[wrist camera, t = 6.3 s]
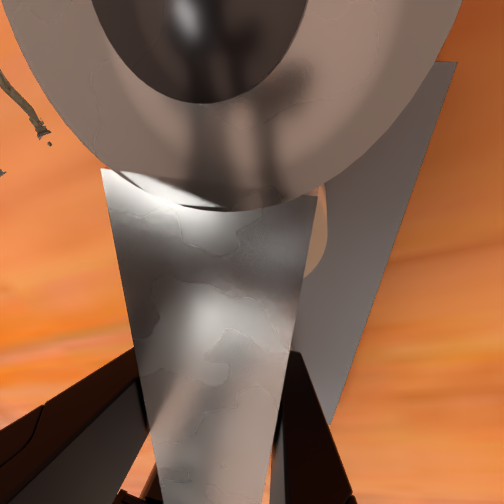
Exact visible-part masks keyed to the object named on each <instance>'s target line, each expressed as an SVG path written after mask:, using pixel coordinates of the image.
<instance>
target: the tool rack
mask: <svg viewBox="0 0 504 504" xmlns="http://www.w3.org/2000/svg"><path fill="white" fill-rule="evenodd" d="M456 65H457V62H442V61H435V62H434V64H433V66H432V67H431V69H430V71H429V72H428V74H427V75H426V77H425V78H424V80H423V82H422V83H421V85H420V86H419V88H418V90H417V91H416V93H415V94H414V96H413V98H412V99H411V101H410V102H409V103H408V104H407V106H406V107H405V108H404V109H403V111H402V112H401V113H400V115H399V116H398V117H397V118H396V120H395V121H394V122H393V123H392V125H391V126H390V127H389V129H388V130H387V131H386V132H385V133H384V134H383V135H382V136H381V137H380V138H379V139H378V140H377V141H376V142H375V143H374V144H373V145H372V146H371V147H370V148H369V149H368V150H367V151H366V152H365V153H364V154H363V155H362V156H361V157H359V158H358V159H357V160H356V161H355V162H353V163H352V164H351V165H350V166H348V167H347V168H346V169H345V170H343V171H342V172H341V173H340V174H338V175H337V176H335V177H333V178H332V179H330V180H329V181H327V182H325V183H324V184H322V185H321V186H319V191H318V201H317V206H316V211H315V217H314V222H313V228H312V233H311V238H310V244H309V249H308V254H307V260H306V265H305V271H304V276H303V281H302V287H301V292H300V298H299V303H298V308H297V314H296V319H295V324H294V330H293V335H292V341H291V346H290V350H293V351H298V352H300V353H301V354H302V356H303V359H304V362H305V364H306V367H307V370H308V373H309V375H310V378H311V381H312V383H313V386H314V389H315V391H316V394H317V397H318V399H319V402H320V405H321V407H322V410H323V413H324V416H325V418H326V421H327V424H329V425H330V424H331V422H332V419H333V416H334V413H335V410H336V407H337V405H338V402H339V399H340V396H341V393H342V390H343V387H344V385H345V382H346V379H347V376H348V373H349V370H350V367H351V365H352V362H353V359H354V356H355V353H356V350H357V347H358V345H359V342H360V339H361V336H362V333H363V330H364V328H365V325H366V322H367V319H368V316H369V313H370V310H371V308H372V305H373V302H374V299H375V296H376V293H377V290H378V288H379V285H380V282H381V279H382V276H383V273H384V271H385V268H386V265H387V262H388V259H389V256H390V253H391V251H392V248H393V245H394V242H395V239H396V236H397V233H398V231H399V228H400V225H401V222H402V219H403V216H404V214H405V211H406V208H407V205H408V202H409V199H410V196H411V194H412V191H413V188H414V185H415V182H416V179H417V176H418V174H419V171H420V168H421V165H422V162H423V159H424V157H425V154H426V151H427V148H428V145H429V142H430V139H431V137H432V134H433V131H434V128H435V125H436V122H437V119H438V117H439V114H440V111H441V108H442V105H443V102H444V100H445V97H446V94H447V91H448V88H449V85H450V82H451V80H452V77H453V74H454V71H455V68H456Z"/></svg>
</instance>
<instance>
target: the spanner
mask: <svg viewBox="0 0 504 504" xmlns="http://www.w3.org/2000/svg"><path fill="white" fill-rule="evenodd" d="M1 1H2V4H3V7H4V10H5V13H6V15H7V18H8V20H9V23H10V25H11V28H12V30H13V32H14V35H15V37H16V40H17V42H18V45H19V47H20V49H21V51H22V53H23V55H24V57H25V59H26V61H27V63H28V65H29V67H30V69H31V71H32V73H33V75H34V76H35V78H36V80H37V81H38V83H39V85H40V86H41V88H42V90H43V91H44V93H45V95H46V96H47V98H48V100H49V101H50V103H51V104H52V105H53V107H54V108H55V110H56V111H57V112H58V114H59V115H60V117H61V118H62V119H63V121H64V122H65V123H66V125H67V126H68V127H69V128H70V129H71V130H72V132H73V133H74V134H75V135H76V136H77V137H78V139H79V140H80V141H81V142H82V143H83V144H84V145H85V146H86V147H87V148H88V149H89V150H90V151H91V152H92V153H93V154H94V155H95V156H96V157H97V158H98V159H99V160H100V161H101V162H103V163H104V164H105V165H106V166H108V167H104V168H100V169H101V174H102V179H103V185H104V190H105V195H106V201H107V206H108V211H109V217H110V222H111V227H112V232H113V238H114V243H115V248H116V254H117V259H118V264H119V270H120V275H121V280H122V285H123V291H124V296H125V301H126V307H127V312H128V317H129V323H130V328H131V333H132V338H133V344H134V349H135V354H136V360H137V365H138V370H139V375H140V381H141V386H142V391H143V397H144V402H145V407H146V413H147V418H148V423H149V428H150V434H151V439H152V444H153V450H154V455H155V460H156V466H157V471H158V476H159V481H160V487H161V492H162V497H163V503H164V504H261V502H262V497H263V491H264V486H265V480H266V475H267V470H268V464H269V459H270V453H271V448H272V443H273V437H274V432H275V427H276V421H277V416H278V410H279V405H280V400H281V394H282V389H283V384H284V378H285V373H286V367H287V362H288V357H289V351H290V346H291V341H292V335H293V330H294V324H295V319H296V314H297V308H298V303H299V298H300V292H301V287H302V281H303V276H304V271H305V265H306V260H307V254H308V249H309V244H310V238H311V233H312V228H313V222H314V217H315V211H316V206H317V201H318V191H319V186H321V185H322V184H324V183H325V182H327V181H329V180H330V179H332V178H333V177H335V176H337V175H338V174H340V173H341V172H342V171H343V170H345V169H346V168H347V167H348V166H350V165H351V164H352V163H353V162H355V161H356V160H357V159H358V158H359V157H361V156H362V155H363V154H364V153H365V152H366V151H367V150H368V149H369V148H370V147H371V146H372V145H373V144H374V143H375V142H376V141H377V140H378V139H379V138H380V137H381V136H382V135H383V134H384V133H385V132H386V131H387V130H388V129H389V127H390V126H391V125H392V123H393V122H394V121H395V120H396V118H397V117H398V116H399V115H400V113H401V112H402V111H403V109H404V108H405V107H406V106H407V104H408V103H409V102H410V101H411V99H412V98H413V96H414V94H415V93H416V91H417V90H418V88H419V86H420V85H421V83H422V82H423V80H424V78H425V77H426V75H427V74H428V72H429V71H430V69H431V67H432V66H433V64H434V62H435V60H436V58H437V56H438V54H439V52H440V50H441V48H442V46H443V44H444V42H445V40H446V38H447V36H448V34H449V32H450V30H451V28H452V26H453V24H454V22H455V19H456V16H457V14H458V11H459V9H460V6H461V3H462V1H463V0H1Z"/></svg>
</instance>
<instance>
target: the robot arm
mask: <svg viewBox="0 0 504 504" xmlns="http://www.w3.org/2000/svg"><path fill="white" fill-rule="evenodd" d="M149 432H150V428H149V423H148V418H147V413H146V407H145V402H144V397H143V391H142V386H141V381H140V375H139V370H138V365H137V360H136V354H135V349H134V347H133V348H131V349H130V350H128V351H127V352H125V353H123V354H122V355H120V356H119V357H117V358H115V359H114V360H112V361H111V362H109V363H107V364H106V365H104V366H103V367H101V368H100V369H98V370H96V371H95V372H93V373H92V374H90V375H88V376H87V377H85V378H84V379H82V380H80V381H79V382H77V383H76V384H74V385H72V386H71V387H69V388H68V389H66V390H65V391H63V392H61V393H60V394H58V395H57V396H55V397H53V398H52V399H50V400H49V401H47V402H46V403H45V405H40V406H39V407H37V408H36V409H34V410H32V411H31V412H29V413H28V414H26V415H25V416H23V417H21V418H20V419H18V420H16V421H15V422H13V423H11V424H10V425H8V426H6V427H5V428H3V429H1V430H0V504H164V503H163V497H162V492H161V487H160V481H159V476H158V471H157V466H156V462H155V465H154V467H153V469H152V471H151V473H150V475H149V477H148V480H147V482H146V484H145V486H144V488H143V490H142V492H141V495H140V497H139V498H137V497H135V496H133V495H130V494H128V493H127V491H125V490H123V489H121V490H120V492H119V493H118V491H119V489H120V487H121V485H122V483H123V481H124V479H125V478H126V476H127V474H128V472H129V470H130V468H131V466H132V464H133V462H134V460H135V459H136V457H137V455H138V453H139V451H140V449H141V447H142V445H143V443H144V441H145V439H146V438H147V436H148V434H149ZM117 493H118V495H117ZM352 493H353V491H352V488H351V485H350V483H349V480H348V477H347V475H346V472H345V469H344V467H343V464H342V461H341V459H340V456H339V453H338V450H337V448H336V445H335V442H334V440H333V437H332V434H331V432H330V429H329V426H328V424H327V421H326V418H325V416H324V413H323V410H322V407H321V405H320V402H319V399H318V397H317V394H316V391H315V389H314V386H313V383H312V381H311V378H310V375H309V373H308V370H307V367H306V364H305V362H304V359H303V356H302V354H301V353H300V352H298V351H293V350H290V351H289V357H288V362H287V367H286V373H285V378H284V384H283V389H282V394H281V400H280V405H279V410H278V416H277V421H276V427H275V432H274V437H273V443H272V460H271V483H270V504H357V501H356V498H355V496H354V495H352Z"/></svg>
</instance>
